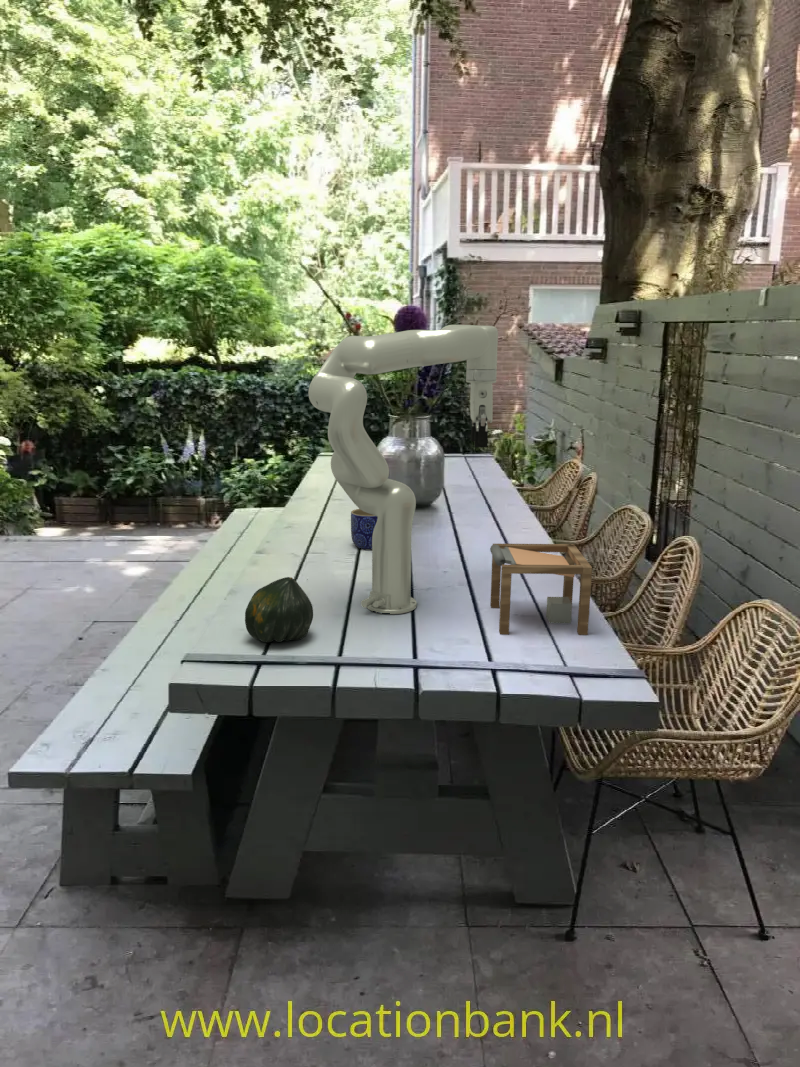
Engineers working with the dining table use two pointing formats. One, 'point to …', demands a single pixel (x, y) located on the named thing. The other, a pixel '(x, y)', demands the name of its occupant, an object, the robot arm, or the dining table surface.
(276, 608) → the squash
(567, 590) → the frame
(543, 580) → the dining table surface
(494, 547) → the trapdoor
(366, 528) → the planter
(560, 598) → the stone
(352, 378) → the robot arm
